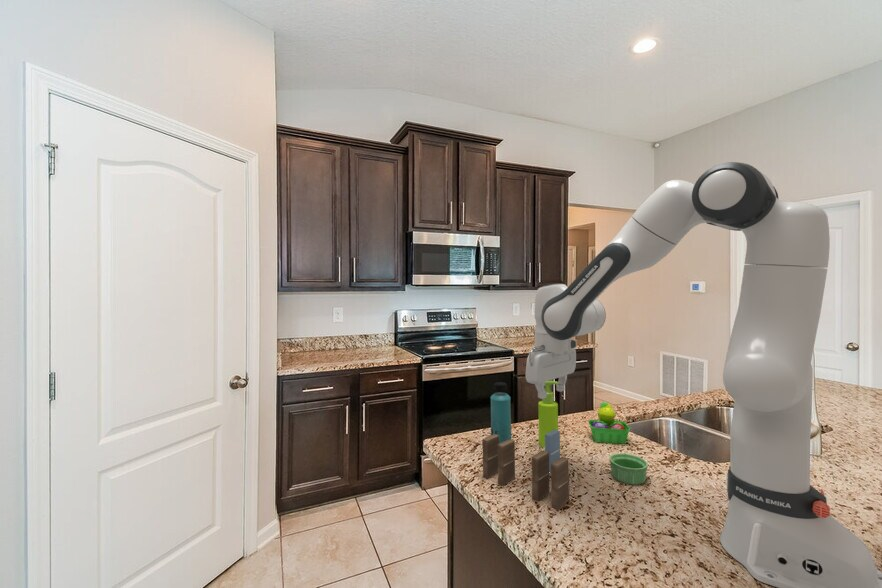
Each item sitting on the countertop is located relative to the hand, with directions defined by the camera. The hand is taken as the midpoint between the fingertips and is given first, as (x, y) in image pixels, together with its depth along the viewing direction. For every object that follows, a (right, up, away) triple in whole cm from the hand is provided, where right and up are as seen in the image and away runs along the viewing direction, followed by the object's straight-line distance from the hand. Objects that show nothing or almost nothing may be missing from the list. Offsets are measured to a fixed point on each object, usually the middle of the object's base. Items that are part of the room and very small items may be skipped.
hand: (551, 394), depth 104 cm
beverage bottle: (-11, -21, +15) cm, 28 cm away
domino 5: (-3, -21, -17) cm, 27 cm away
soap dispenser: (+4, -20, +16) cm, 26 cm away
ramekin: (+19, -21, -4) cm, 28 cm away
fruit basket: (+24, -20, +20) cm, 37 cm away
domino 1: (-17, -21, -2) cm, 27 cm away
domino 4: (0, -21, 0) cm, 21 cm away
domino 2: (-13, -21, -6) cm, 25 cm away
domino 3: (-6, -21, -13) cm, 25 cm away
